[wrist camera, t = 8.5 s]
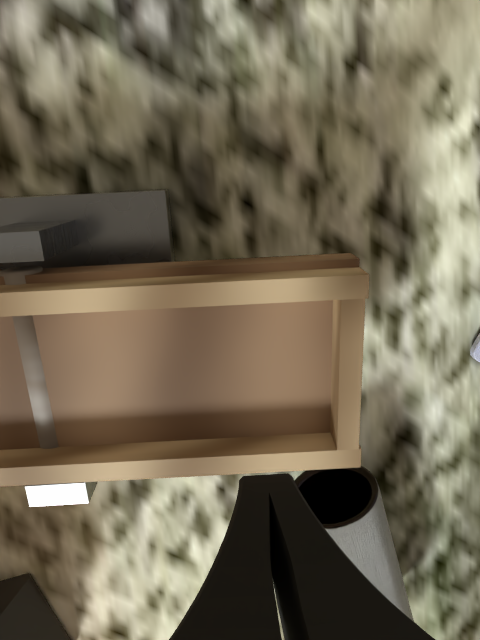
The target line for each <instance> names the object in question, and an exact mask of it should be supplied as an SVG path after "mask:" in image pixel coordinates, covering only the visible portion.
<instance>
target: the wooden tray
mask: <svg viewBox="0 0 480 640" xmlns="http://www.w3.org/2000/svg"><path fill="white" fill-rule="evenodd" d="M368 294H369V274H368V273H366V272H365V271H364V270H362V269H361V268H359V258H357V257H356V256H354V255H353V254H351V253H341V254H321V255H301V256H281V257H260V258H240V259H220V260H199V261H179V262H159V263H139V264H118V265H98V266H78V267H58V268H42V266H21V267H14V268H8V269H5V270H0V487H4V486H22V485H41V484H60V483H78V482H97V481H115V480H134V479H153V478H171V477H190V476H209V475H227V474H246V473H265V472H283V471H302V470H321V469H339V468H358V467H361V447H360V445H359V432H360V409H361V386H362V363H363V340H364V317H365V299H366V298H368Z"/></svg>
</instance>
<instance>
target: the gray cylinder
mask: <svg viewBox="0 0 480 640" xmlns="http://www.w3.org/2000/svg"><path fill="white" fill-rule="evenodd" d="M295 483H296V485H297V487H298V489H299V490H300V492H301V494H302V496H303V497H304V499H305V500H306V502H307V503H308V505H309V507H310V508H311V510H312V511H313V513H314V514H315V516H316V517H317V518H318V520H319V521H320V522H321V524H322V525H323V527H324V528H325V529H326V531H327V532H328V533H329V535H330V536H331V537H332V539H333V540H334V541H335V542H336V544H337V545H338V546H339V547H340V548H341V550H342V551H343V552H344V553H345V555H346V556H347V557H348V558H349V559H350V560H351V561H352V563H353V564H354V565H355V566H356V567H357V568H358V569H359V570H360V571H361V573H362V574H363V575H364V576H365V577H366V578H367V579H368V580H369V581H370V582H371V583H372V584H373V585H374V586H375V587H376V588H377V589H378V590H379V591H380V592H381V593H382V594H383V595H384V596H385V597H386V598H387V599H388V600H389V601H390V602H392V603H393V604H394V605H395V606H396V607H397V608H398V609H399V610H401V611H402V612H403V613H404V614H405V615H406V616H408V617H409V618H410V619H411V620H412V621H413V622H414V620H413V616H412V613H411V609H410V605H409V601H408V597H407V593H406V589H405V586H404V582H403V578H402V574H401V570H400V566H399V562H398V558H397V555H396V551H395V547H394V543H393V539H392V535H391V531H390V528H389V524H388V520H387V516H386V512H385V508H384V504H383V501H382V497H381V493H380V489H379V486H378V483H377V480H376V478H375V477H374V476H373V474H372V473H371V472H370V471H368V470H367V469H366V468H364V467H362V466H361V467H358V468H339V469H321V470H306V471H305V472H303V473H302V474H301V475H300V476H298V477H297V478H296V480H295Z"/></svg>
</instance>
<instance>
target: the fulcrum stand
mask: <svg viewBox="0 0 480 640" xmlns="http://www.w3.org/2000/svg"><path fill="white" fill-rule="evenodd" d="M159 262H175V256H174V245H173V234H172V223H171V212H170V201H169V190H168V189H165V190H145V191H124V192H103V193H82V194H62V195H41V196H20V197H0V270H5V269H8V268H14V267H21V266H42V268H58V267H78V266H98V265H118V264H139V263H159ZM97 482H98V481H97ZM97 482H78V483H60V484H41V485H25V489H26V494H27V498H28V502H29V507H37V506H53V505H70V504H86V503H89V502H90V499H91V497H92V494H93V492H94V489H95V487H96V484H97Z"/></svg>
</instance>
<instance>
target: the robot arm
mask: <svg viewBox="0 0 480 640" xmlns="http://www.w3.org/2000/svg"><path fill="white" fill-rule="evenodd" d="M470 354H471V356H472V357H473V358H474V359H475V360H477V361H478V362H480V333H479V335H478V337H477V338H476V340H475V342H474V343H473V345H472V347H471V350H470ZM273 584H274V586H273ZM274 589H275V593H274ZM275 594H276V599H277V604H278V609H279V614H280V619H281V624H282V629H283V633H284V638H285V640H435V639H434V638H432V637H431V636H430V635H429V634H427V633H426V632H425V631H424V630H423V629H422V628H420V627H419V626H418V625H417V624H416V623H415V622H413V621H412V620H411V619H410V618H409V617H408V616H406V615H405V614H404V613H403V612H402V611H401V610H399V609H398V608H397V607H396V606H395V605H394V604H393V603H392V602H390V601H389V600H388V599H387V598H386V597H385V596H384V595H383V594H382V593H381V592H380V591H379V590H378V589H377V588H376V587H375V586H374V585H373V584H372V583H371V582H370V581H369V580H368V579H367V578H366V577H365V576H364V575H363V574H362V573H361V571H360V570H359V569H358V568H357V567H356V566H355V565H354V564H353V563H352V561H351V560H350V559H349V558H348V557H347V556H346V555H345V553H344V552H343V551H342V550H341V548H340V547H339V546H338V545H337V544H336V542H335V541H334V540H333V539H332V537H331V536H330V535H329V533H328V532H327V531H326V529H325V528H324V527H323V525H322V524H321V522H320V521H319V520H318V518H317V517H316V516H315V514H314V513H313V511H312V510H311V508H310V507H309V505H308V503H307V502H306V500H305V499H304V497H303V496H302V494H301V492H300V490H299V489H298V487H297V485H296V483H295V481H294V479H293V477H292V476H291V475H290V474H272V475H255V476H243V477H242V478H241V479H240V480H239V490H238V495H237V500H236V504H235V507H234V511H233V514H232V517H231V520H230V523H229V526H228V529H227V532H226V535H225V537H224V540H223V542H222V544H221V547H220V549H219V552H218V554H217V556H216V559H215V561H214V563H213V565H212V567H211V569H210V571H209V574H208V576H207V577H206V579H205V581H204V583H203V585H202V587H201V589H200V591H199V593H198V594H197V596H196V598H195V600H194V601H193V603H192V605H191V606H190V608H189V610H188V611H187V613H186V615H185V616H184V618H183V620H182V621H181V623H180V624H179V626H178V627H177V629H176V630H175V632H174V633H173V635H172V636H171V638H170V639H169V640H282V639H281V633H280V626H279V620H278V613H277V606H276V600H275Z"/></svg>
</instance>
